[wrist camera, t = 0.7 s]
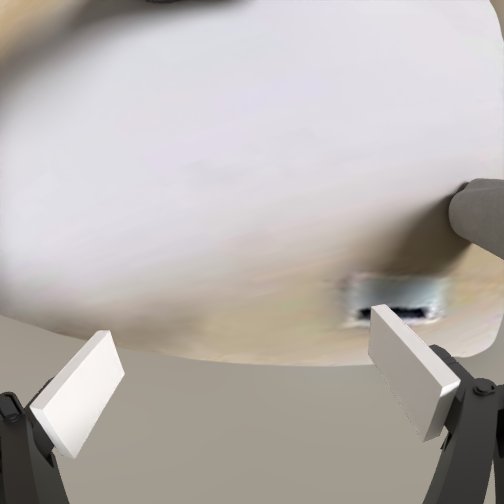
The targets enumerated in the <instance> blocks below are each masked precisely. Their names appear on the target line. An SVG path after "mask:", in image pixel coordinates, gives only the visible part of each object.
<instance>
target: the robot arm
mask: <svg viewBox="0 0 504 504" xmlns="http://www.w3.org/2000/svg"><path fill="white" fill-rule="evenodd" d="M147 1H150V2H158V3H164V2H173V1H178V0H147ZM368 354H369V356H370V358H371V359H372V361H373V362H374V364H375V365H376V367H377V368H378V370H379V372H380V373H381V375H382V376H383V378H384V379H385V381H386V383H387V384H388V386H389V387H390V389H391V391H392V392H393V394H394V396H395V397H396V398H397V400H398V402H399V404H400V405H401V407H402V409H403V410H404V412H405V413H406V415H407V417H408V418H409V420H410V422H411V423H412V425H413V427H414V428H415V430H416V432H417V434H418V435H419V437H420V439H421V440H422V442H425V441H428V440H430V439H433V438H435V437H437V436H440V434H441V431H442V429H443V427H444V425H445V427H446V428H447V430H448V431H449V432H448V434H447V436H446V438H445V441H444V442H443V445H442V447H441V449H442V453H441V456H440V459H439V462H438V465H437V468H436V471H435V474H434V476H433V479H432V482H431V485H430V487H429V490H428V492H427V494H426V497H425V499H424V501H423V504H483V503H484V499H485V495H486V490H487V486H488V481H489V477H490V471H491V465H492V460H493V462H494V473H495V493H496V504H504V384H503V385H498V386H496V385H495V384H494V382H492V381H490V380H488V379H484V378H477V379H474V378H473V377H472V376H471V375H470V374H469V373H468V372H467V371H466V370H465V369H464V368H463V367H462V366H461V365H460V364H459V363H458V362H456V360H455V359H454V358H453V357H451V355H450V354H449V353H448V352H447V351H446V350H445V349H443V348H441V347H439V346H437V345H435V344H434V345H431V346H427V345H426V344H425V343H424V342H423V341H422V340H421V339H420V338H419V337H418V336H417V335H416V334H415V333H414V332H413V331H412V330H411V329H410V328H409V327H408V326H407V325H406V324H405V323H404V322H403V321H402V320H401V319H400V318H399V317H398V316H397V315H396V314H395V313H394V312H393V311H392V310H391V309H390V308H389V307H388V306H387V305H386V304H382V305H377V306H371V321H370V336H369V349H368ZM124 374H125V373H124V371H123V368H122V365H121V363H120V360H119V357H118V354H117V351H116V348H115V345H114V342H113V339H112V336H111V333H110V330H102V331H97V332H96V333H95V334H94V335H93V336H92V337H91V338H90V339H89V340H88V342H87V343H86V344H85V345H84V346H83V347H82V348H81V349H80V350H79V351H78V352H77V353H76V354H75V356H74V357H73V358H72V359H71V360H70V361H69V362H68V363H67V364H66V365H65V366H64V367H63V369H62V370H61V371H60V372H59V373H58V374H57V375H56V376H55V377H53V378H51V379H50V380H48V382H47V383H46V384H45V385H44V386H43V388H42V389H40V391H39V393H37V394H36V395H35V396H34V397H33V399H32V400H31V401H30V402H29V403H28V404H27V406H26V407H25V408H23V407H22V405H21V403H20V402H19V400H18V398H17V396H16V395H15V394H14V393H13V392H4V393H2V394H0V504H69V501H68V498H67V495H66V492H65V489H64V486H63V483H62V480H61V476H60V473H59V470H58V466H57V462H56V459H55V455H54V454H53V452H52V449H53V447H54V446H55V447H56V449H57V450H58V451H59V453H60V454H61V455H62V456H66V457H69V458H73V459H75V458H76V456H77V454H78V453H79V451H80V449H81V447H82V445H83V444H84V442H85V440H86V438H87V437H88V435H89V433H90V431H91V430H92V428H93V426H94V424H95V422H96V421H97V419H98V417H99V416H100V414H101V412H102V411H103V409H104V407H105V406H106V404H107V402H108V401H109V399H110V397H111V395H112V394H113V392H114V391H115V389H116V387H117V386H118V384H119V382H120V381H121V379H122V377H123V376H124Z"/></svg>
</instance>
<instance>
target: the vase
mask: <svg viewBox="0 0 504 504" xmlns="http://www.w3.org/2000/svg"><path fill="white" fill-rule="evenodd" d="M449 221H450V224H451V227H452V229H453V230H454V231H455V233H456V234H458V235H459V236H461V237H463V238H465V239H467V240H468V241H470V242H472V243H474V244H476V245H478V246H480V247H482V248H483V249H485V250H487V251H489V252H491V253H493V254H494V255H496V256H498V257H500V258H501V259H503V260H504V180H500V179H475V180H472V181H471V182H469V183H468V184H467V186H466V187H465V188H464V190H463V191H460V192H458V193H457V194H456V195H455V196H454V197H453V198H452V200H451V202H450V206H449Z"/></svg>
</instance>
